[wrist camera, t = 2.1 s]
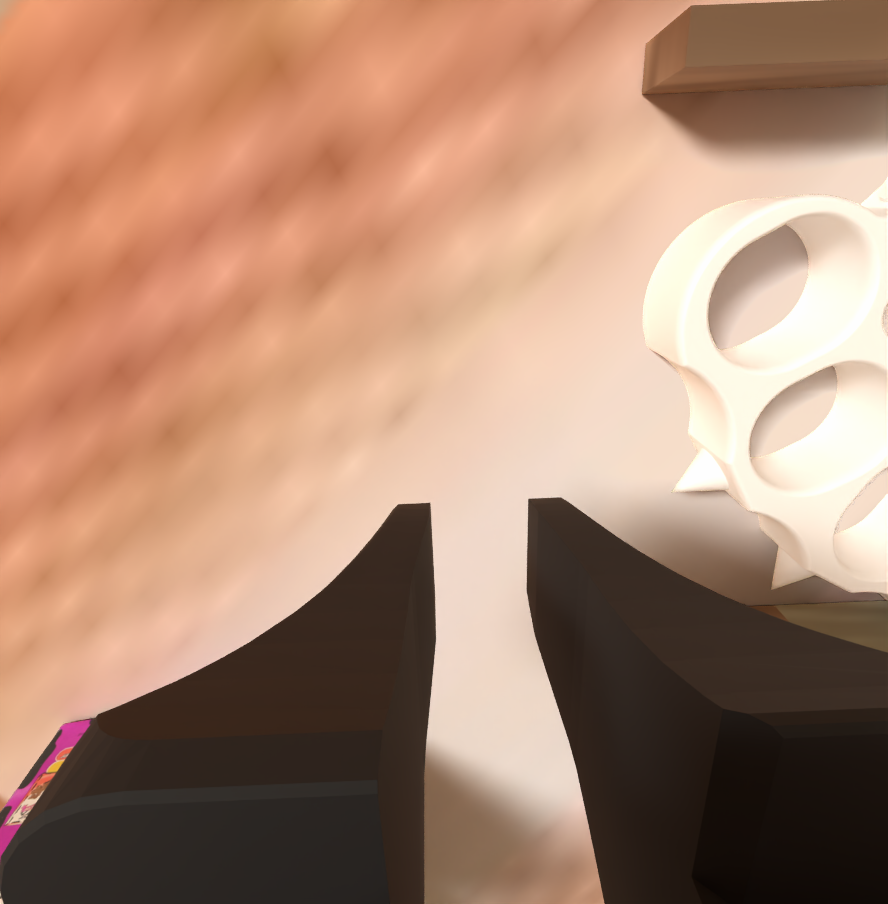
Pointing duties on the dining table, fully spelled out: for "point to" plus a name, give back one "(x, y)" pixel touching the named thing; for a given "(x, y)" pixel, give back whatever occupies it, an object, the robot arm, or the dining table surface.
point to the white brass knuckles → (789, 379)
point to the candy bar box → (38, 780)
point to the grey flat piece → (781, 67)
